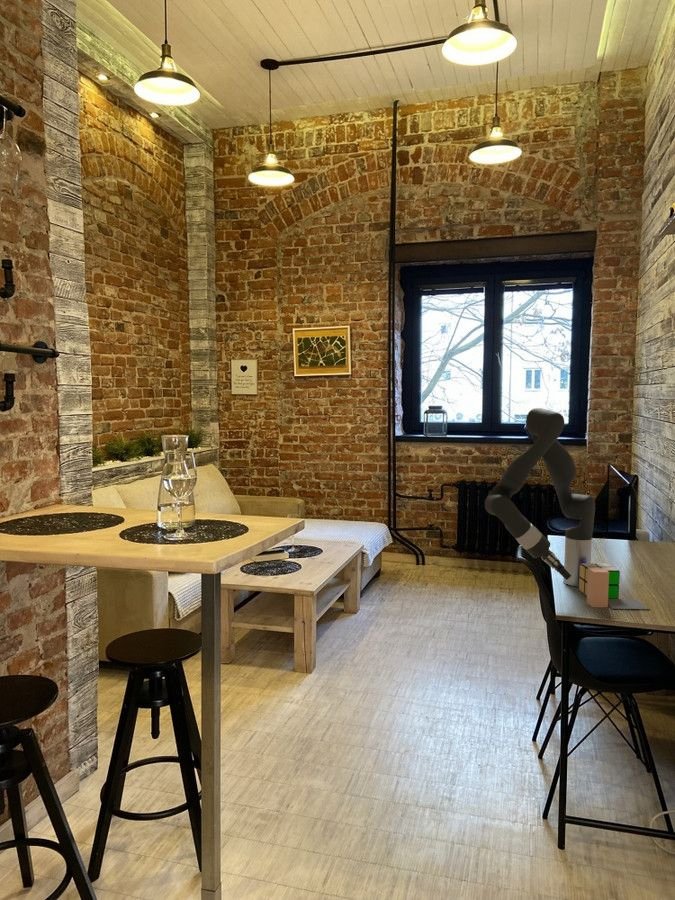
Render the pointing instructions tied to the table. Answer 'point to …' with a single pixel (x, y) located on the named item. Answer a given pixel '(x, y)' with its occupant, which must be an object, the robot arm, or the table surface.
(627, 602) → the mat
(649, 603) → the table surface
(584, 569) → the puzzle cube
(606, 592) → the terracotta block
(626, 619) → the table surface
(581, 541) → the robot arm
